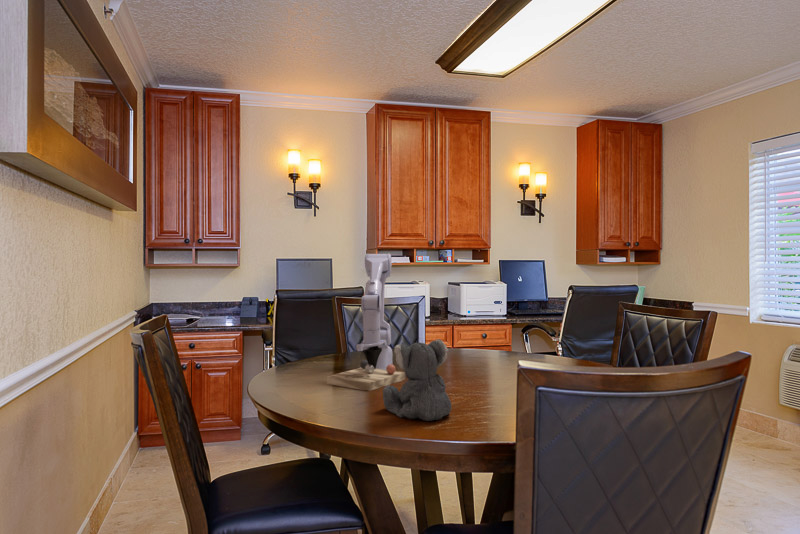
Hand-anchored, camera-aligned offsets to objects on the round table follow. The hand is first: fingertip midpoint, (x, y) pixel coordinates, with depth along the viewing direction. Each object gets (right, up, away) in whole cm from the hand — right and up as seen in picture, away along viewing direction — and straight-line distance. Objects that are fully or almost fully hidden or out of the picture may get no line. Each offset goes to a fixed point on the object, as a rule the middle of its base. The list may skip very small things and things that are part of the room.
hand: (372, 369), depth 178 cm
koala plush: (+15, -4, -41) cm, 44 cm away
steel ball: (-1, 0, -1) cm, 1 cm away
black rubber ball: (-3, 0, +7) cm, 8 cm away
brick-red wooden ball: (+6, 0, -2) cm, 7 cm away
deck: (-2, -4, -2) cm, 5 cm away
